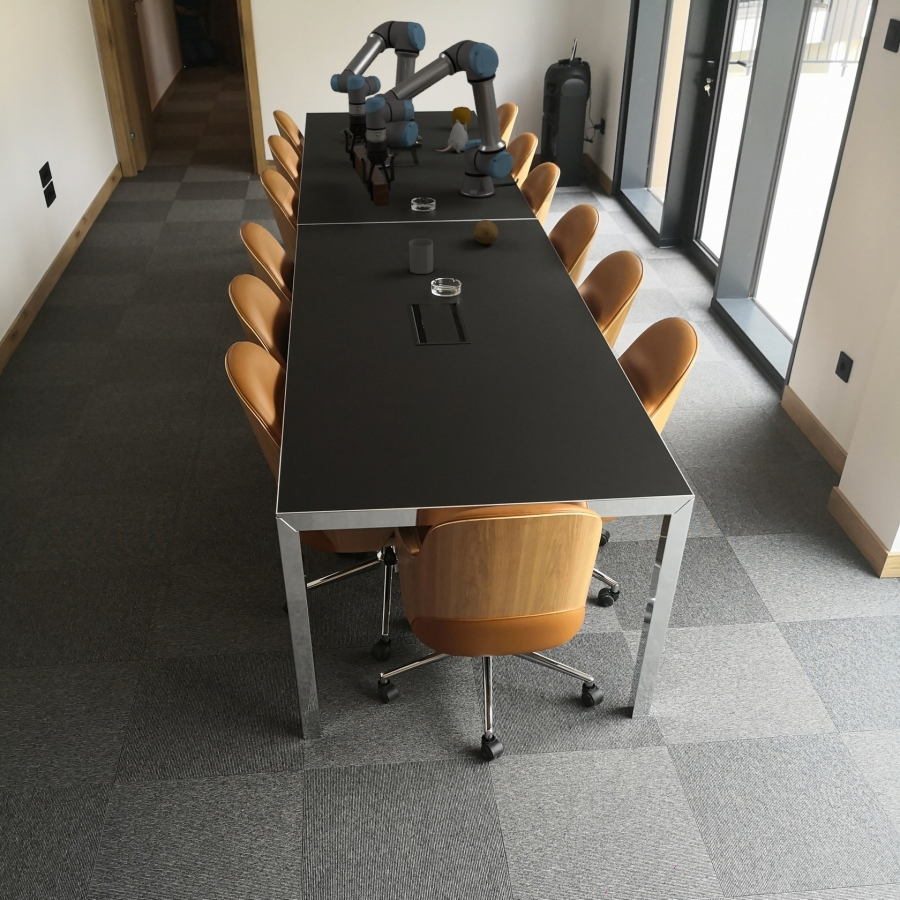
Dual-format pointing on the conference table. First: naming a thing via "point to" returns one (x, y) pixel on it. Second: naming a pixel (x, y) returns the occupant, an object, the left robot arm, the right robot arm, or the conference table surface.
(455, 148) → the toy
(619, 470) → the conference table surface
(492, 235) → the potato
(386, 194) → the beam
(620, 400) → the conference table surface
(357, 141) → the green toy turtle
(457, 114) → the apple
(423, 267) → the cup
